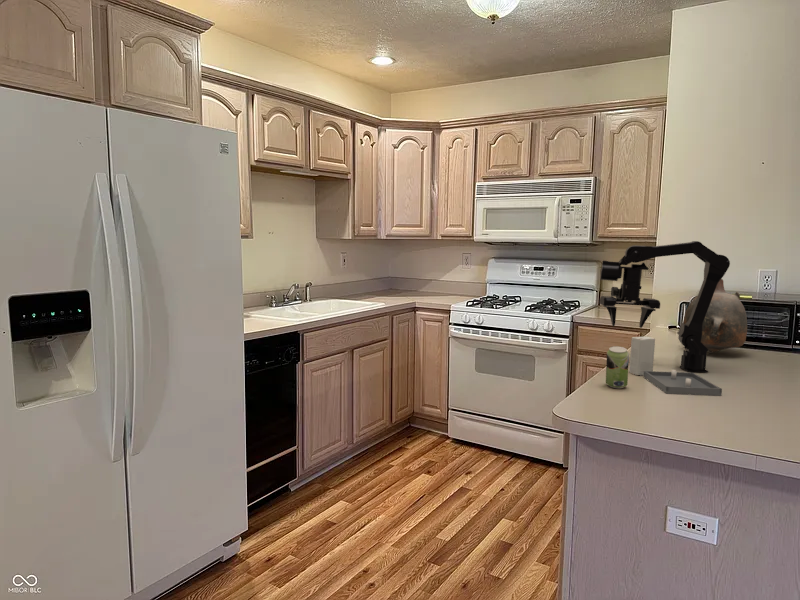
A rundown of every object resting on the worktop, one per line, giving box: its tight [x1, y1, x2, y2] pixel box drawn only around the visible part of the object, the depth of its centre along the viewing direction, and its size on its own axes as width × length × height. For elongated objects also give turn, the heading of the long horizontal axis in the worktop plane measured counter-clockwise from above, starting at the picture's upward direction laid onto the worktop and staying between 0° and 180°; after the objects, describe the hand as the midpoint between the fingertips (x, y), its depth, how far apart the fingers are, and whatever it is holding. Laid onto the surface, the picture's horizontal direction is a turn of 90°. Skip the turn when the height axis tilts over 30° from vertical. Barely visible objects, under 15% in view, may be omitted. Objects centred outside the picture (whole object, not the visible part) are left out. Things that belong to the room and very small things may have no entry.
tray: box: [643, 369, 723, 397], centre depth 162 cm, size 15×18×4 cm
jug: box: [682, 278, 748, 354], centre depth 208 cm, size 24×21×30 cm
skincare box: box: [628, 336, 656, 376], centre depth 175 cm, size 6×4×12 cm
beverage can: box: [605, 346, 630, 389], centre depth 159 cm, size 6×7×12 cm
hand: (626, 326), depth 187 cm, fingers open, 9 cm apart
